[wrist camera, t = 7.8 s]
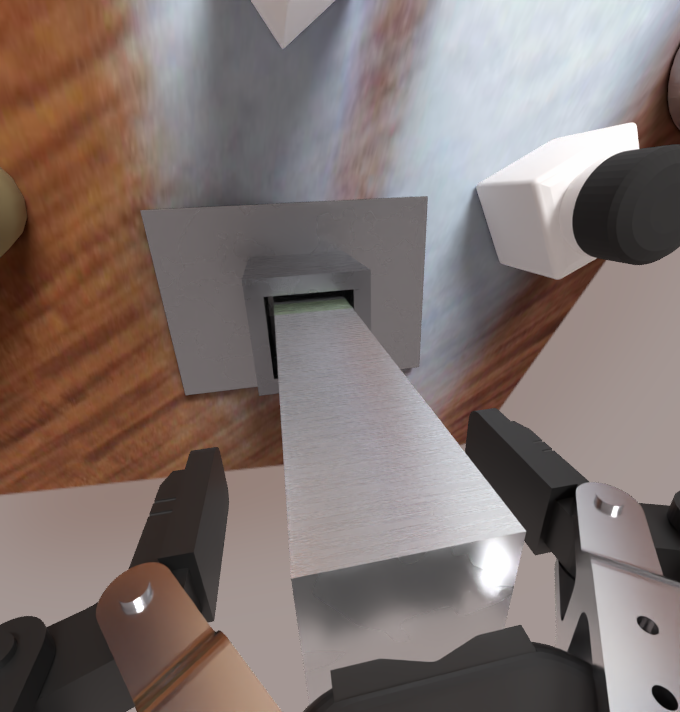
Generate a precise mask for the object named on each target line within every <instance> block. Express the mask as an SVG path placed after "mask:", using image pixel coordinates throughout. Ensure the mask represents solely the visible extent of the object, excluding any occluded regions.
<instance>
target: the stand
mask: <svg viewBox="0 0 680 712" xmlns="http://www.w3.org/2000/svg"><path fill="white" fill-rule="evenodd" d="M427 201H428V196H421V197H401V198H380V199H359V200H339V201H318V202H297V203H276V204H256V205H235V206H214V207H193V208H173V209H152V210H140V211H141V215H142V219H143V223H144V227H145V231H146V236H147V240H148V244H149V248H150V252H151V256H152V260H153V264H154V268H155V272H156V276H157V281H158V285H159V289H160V293H161V297H162V301H163V305H164V309H165V313H166V317H167V322H168V326H169V330H170V334H171V338H172V342H173V346H174V350H175V354H176V358H177V362H178V367H179V371H180V375H181V379H182V383H183V387H184V391H185V395H192V394H200V393H209V392H217V391H225V390H233V389H242V388H250V387H258V392H259V396H261V395H269V394H277V393H279V380H278V364H277V349H276V333H275V317H274V302H273V296H281V295H292V294H304V293H316V292H327V291H340V293H341V294H342V295H343V297H344V298H345V299H346V300H347V302H348V303H349V304H350V306H351V307H352V308H353V309H354V311H355V312H356V313H357V315H358V316H359V317H360V318H361V320H362V321H363V322H364V324H365V325H366V326H367V327H368V329H369V330H370V331H371V333H372V334H373V335H374V336H375V338H376V339H377V340H378V342H379V343H380V344H381V345H382V347H383V348H384V349H385V351H386V352H387V353H388V354H389V356H390V357H391V358H392V360H393V361H394V362H395V363H396V365H397V366H398V367H399V369H406V368H415V367H419V360H420V340H421V320H422V300H423V280H424V260H425V241H426V221H427Z"/></svg>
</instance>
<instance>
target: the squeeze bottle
mask: <svg viewBox="0 0 680 712" xmlns="http://www.w3.org/2000/svg"><path fill="white" fill-rule="evenodd" d="M26 219H27V211H26V206H25V201H24V197H23V195H22V193H21V192H20V190H19V188H18V187H17V185H16V183H15V182H14V180H13V178H12V177H11V176H9V175H8V174H7V173H6V172H5V171H4V170H3V169H2V168H1V167H0V257H1V256H2V255H3V254H4V253H5V252H6V251H7V250H8V249H9V248H10V247H11V246H12V245H13V243H14V242H15V241H16V240H17V239H18V238H19V236H20V235H21V234H22V233H23V230H24V227H25V223H26Z"/></svg>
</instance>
